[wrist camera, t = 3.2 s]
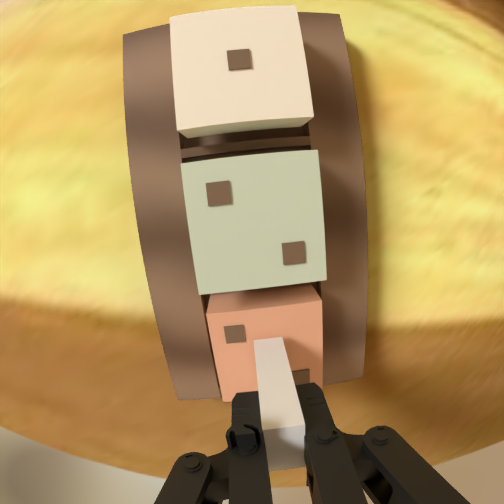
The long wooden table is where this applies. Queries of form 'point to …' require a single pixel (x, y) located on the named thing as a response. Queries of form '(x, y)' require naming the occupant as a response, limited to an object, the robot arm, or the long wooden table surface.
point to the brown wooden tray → (239, 144)
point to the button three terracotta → (265, 333)
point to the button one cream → (239, 70)
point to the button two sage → (255, 220)
